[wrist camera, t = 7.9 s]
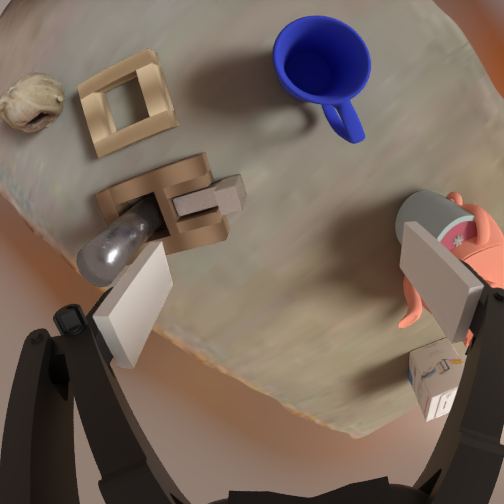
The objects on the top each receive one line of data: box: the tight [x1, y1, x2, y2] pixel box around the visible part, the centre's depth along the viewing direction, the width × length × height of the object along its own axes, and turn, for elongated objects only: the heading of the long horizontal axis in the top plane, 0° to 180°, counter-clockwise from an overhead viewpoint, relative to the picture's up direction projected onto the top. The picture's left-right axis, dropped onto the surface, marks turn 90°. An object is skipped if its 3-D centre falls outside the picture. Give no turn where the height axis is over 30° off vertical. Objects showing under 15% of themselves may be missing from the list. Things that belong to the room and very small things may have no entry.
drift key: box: [173, 174, 246, 216], centre depth 32 cm, size 8×3×6 cm, turn 106°
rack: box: [77, 48, 179, 158], centre depth 29 cm, size 10×10×3 cm
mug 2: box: [395, 190, 477, 252], centre depth 32 cm, size 14×9×10 cm
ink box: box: [409, 337, 464, 422], centre depth 41 cm, size 9×8×12 cm
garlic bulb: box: [0, 73, 65, 133], centre depth 26 cm, size 9×8×10 cm
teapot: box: [398, 192, 504, 347], centre depth 30 cm, size 16×17×14 cm
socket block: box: [95, 152, 230, 266], centre depth 35 cm, size 14×10×4 cm
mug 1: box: [273, 16, 371, 143], centre depth 25 cm, size 8×12×10 cm
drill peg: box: [77, 196, 164, 287], centre depth 30 cm, size 4×4×15 cm
